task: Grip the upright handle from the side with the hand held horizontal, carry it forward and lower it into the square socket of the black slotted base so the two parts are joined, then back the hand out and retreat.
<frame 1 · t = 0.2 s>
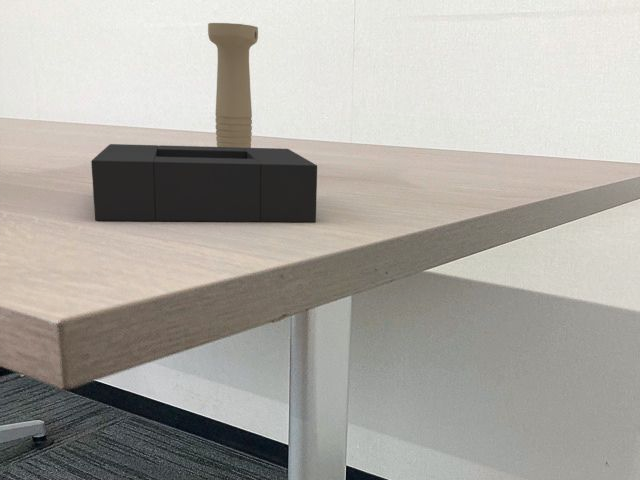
handle: (234, 174, 85), on the table
black slotted base: (205, 205, 61), on the table
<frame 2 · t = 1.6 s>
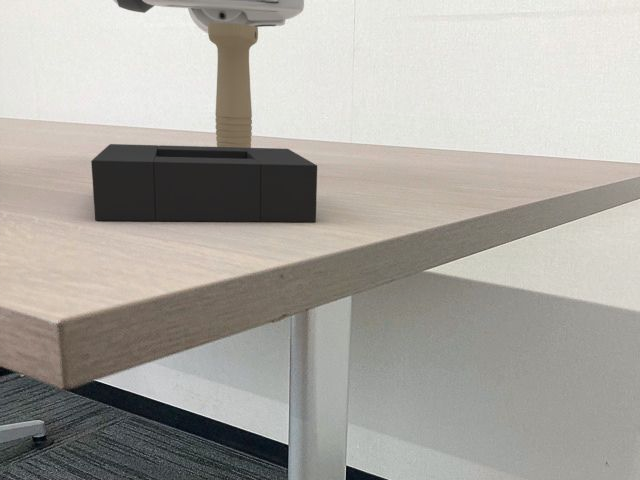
nothing on the table moved.
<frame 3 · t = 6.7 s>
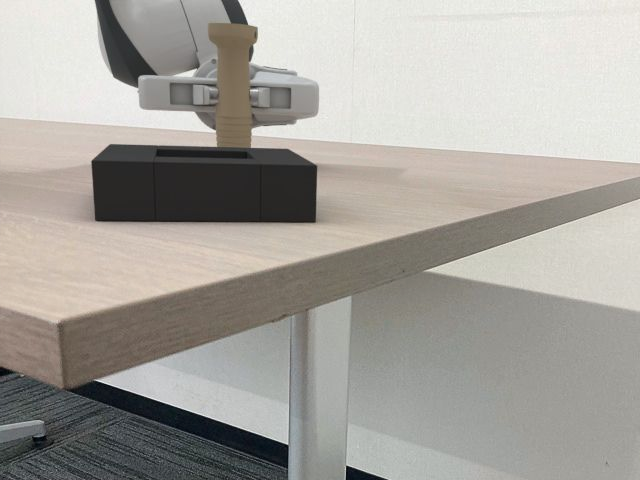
hand: (234, 96, 81), 8 cm above the table, tool horizontal, fingers closed on handle, 3 cm apart
handle: (234, 174, 85), on the table, touching gripper
when the fingers open (8 cm above the table, at t = 15.7 s): handle stays where it is, resting in black slotted base.
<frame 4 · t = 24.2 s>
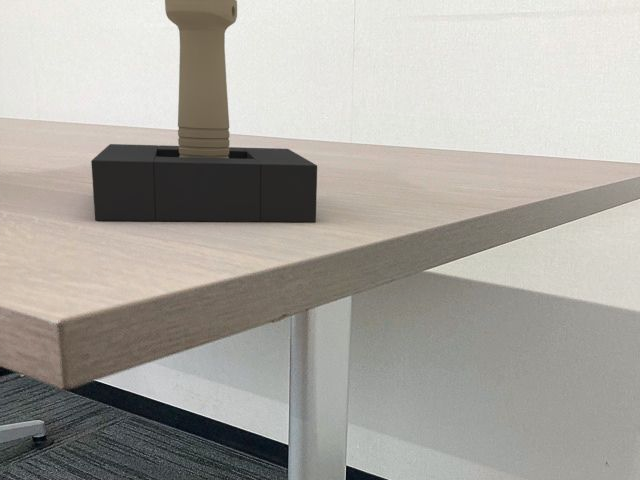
handle: (205, 208, 61), resting in black slotted base
at the end: handle 0.0 cm off-centre in the black slotted base, point 0.0 cm above the black slotted base's base; handle tilted 0°; the gripper is holding nothing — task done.
